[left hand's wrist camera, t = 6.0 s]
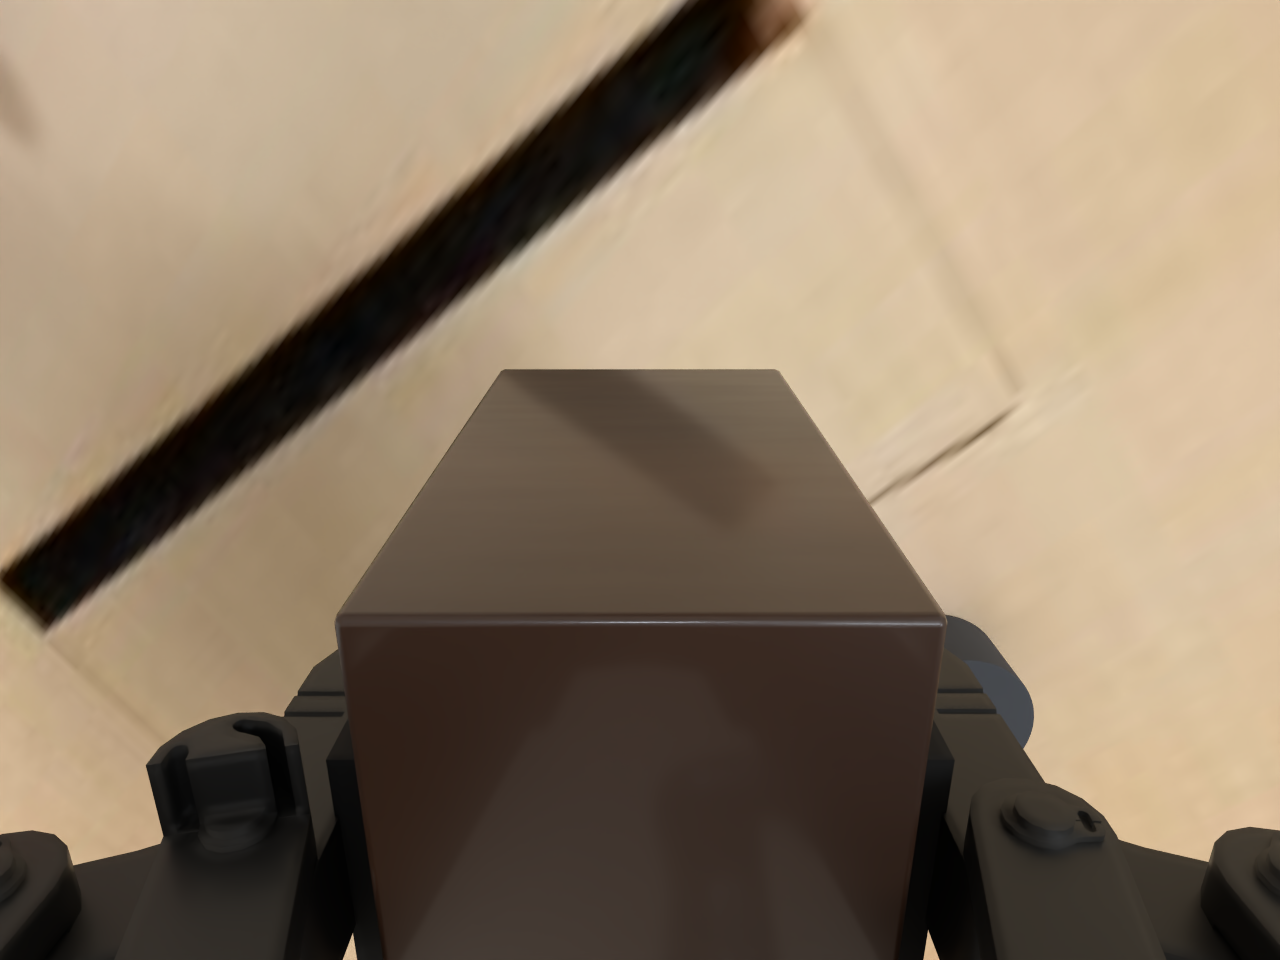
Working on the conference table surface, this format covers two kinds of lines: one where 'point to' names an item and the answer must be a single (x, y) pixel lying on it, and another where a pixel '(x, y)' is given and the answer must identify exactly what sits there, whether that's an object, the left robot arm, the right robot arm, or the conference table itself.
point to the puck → (992, 675)
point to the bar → (640, 684)
